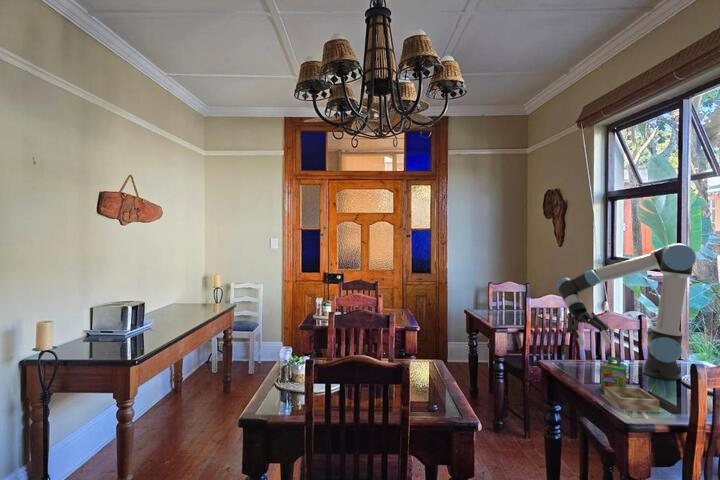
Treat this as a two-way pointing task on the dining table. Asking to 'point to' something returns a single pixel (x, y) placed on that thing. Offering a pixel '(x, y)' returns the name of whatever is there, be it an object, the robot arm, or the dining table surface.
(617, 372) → the chalk box
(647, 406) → the tray
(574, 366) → the dining table surface
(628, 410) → the mat
